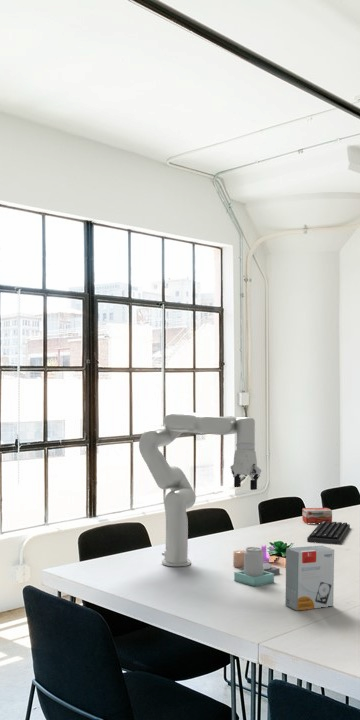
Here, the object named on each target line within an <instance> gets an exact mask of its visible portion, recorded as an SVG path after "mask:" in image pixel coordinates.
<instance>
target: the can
mask: <svg viewBox="0 0 360 720" xmlns="http://www.w3.org/2000/svg"><path fill="white" fill-rule="evenodd" d="M261 550H262V549H261V547H257V546H249V547H246V548H245V550H244V551H245V552H244V574H245V575H248V576H252V577H258V576H262V575H263V563H264V562H263V552H262V551H261Z"/></svg>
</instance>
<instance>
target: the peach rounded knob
mask: <svg viewBox="0 0 360 720" xmlns="http://www.w3.org/2000/svg"><path fill="white" fill-rule="evenodd" d="M245 551H246V550H241V549H239V550H233V554H232V555H233V559H232V560H233V567H234V568H238V569H242V567H244V552H245Z"/></svg>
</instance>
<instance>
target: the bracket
mask: <svg viewBox="0 0 360 720" xmlns="http://www.w3.org/2000/svg"><path fill="white" fill-rule="evenodd" d="M273 546H274V545H270V551H271V550H273V549H274V547H273ZM260 548H261V549H262V550H261V551H262V552H263V563H270V562H269V553H270V552H267V545H266V544H262V545H261V547H260Z"/></svg>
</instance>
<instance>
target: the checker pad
mask: <svg viewBox="0 0 360 720" xmlns="http://www.w3.org/2000/svg"><path fill="white" fill-rule="evenodd" d="M272 567H273V566H272V564H271V563H270V562H263V570H270V569H271V568H272Z"/></svg>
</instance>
